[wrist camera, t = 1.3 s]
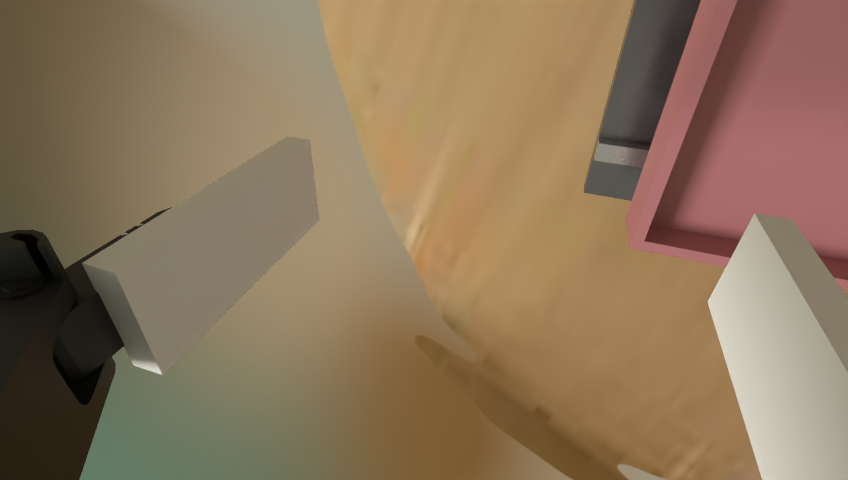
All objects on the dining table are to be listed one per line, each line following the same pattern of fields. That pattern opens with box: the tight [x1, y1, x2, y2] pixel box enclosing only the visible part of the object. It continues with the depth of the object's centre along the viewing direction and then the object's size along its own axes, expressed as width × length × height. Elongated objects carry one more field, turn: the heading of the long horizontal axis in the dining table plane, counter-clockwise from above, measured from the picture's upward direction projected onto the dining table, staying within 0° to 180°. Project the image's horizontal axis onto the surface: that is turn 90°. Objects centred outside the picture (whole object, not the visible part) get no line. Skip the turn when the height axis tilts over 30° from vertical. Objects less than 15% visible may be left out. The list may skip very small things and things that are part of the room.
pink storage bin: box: [626, 0, 848, 291], centre depth 21 cm, size 15×15×6 cm
